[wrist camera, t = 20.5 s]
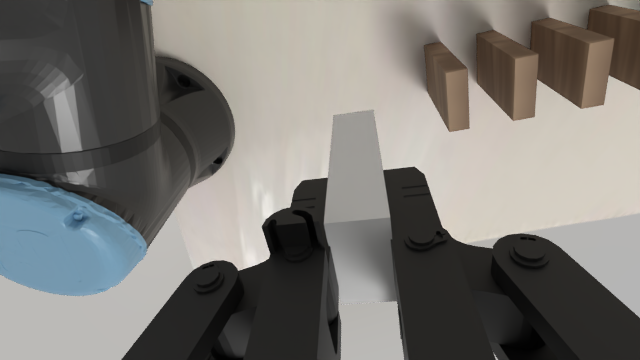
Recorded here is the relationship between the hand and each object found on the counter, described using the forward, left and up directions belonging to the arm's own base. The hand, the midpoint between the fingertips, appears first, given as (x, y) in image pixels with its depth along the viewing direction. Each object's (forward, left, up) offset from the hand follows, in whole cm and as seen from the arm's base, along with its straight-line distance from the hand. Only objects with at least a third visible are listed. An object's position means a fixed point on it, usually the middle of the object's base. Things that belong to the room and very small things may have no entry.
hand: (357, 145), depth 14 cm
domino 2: (+12, -6, -26) cm, 29 cm away
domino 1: (+7, -6, -26) cm, 28 cm away
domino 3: (+17, -6, -26) cm, 32 cm away
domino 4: (+22, -6, -26) cm, 35 cm away
